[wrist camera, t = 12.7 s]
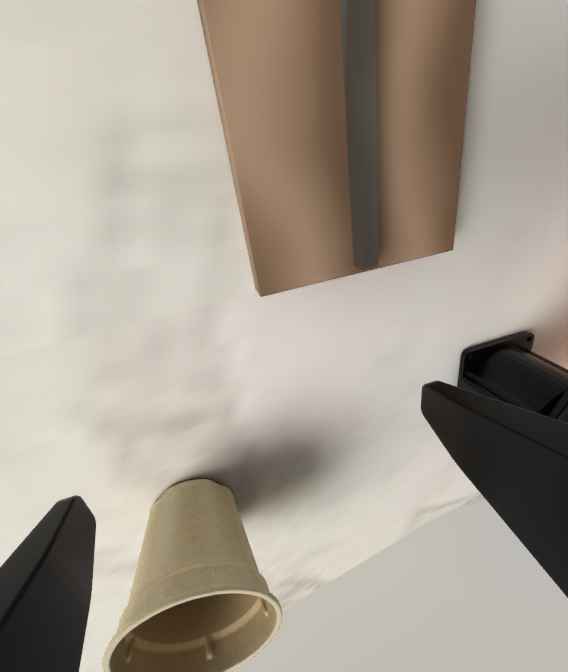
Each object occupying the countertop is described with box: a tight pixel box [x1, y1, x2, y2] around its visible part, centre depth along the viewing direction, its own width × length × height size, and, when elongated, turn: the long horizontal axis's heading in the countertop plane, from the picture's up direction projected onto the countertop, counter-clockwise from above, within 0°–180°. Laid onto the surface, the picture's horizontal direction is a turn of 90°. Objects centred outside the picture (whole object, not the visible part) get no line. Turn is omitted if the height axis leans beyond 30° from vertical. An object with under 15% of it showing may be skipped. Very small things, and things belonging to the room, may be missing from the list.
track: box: [197, 0, 476, 297], centre depth 13 cm, size 12×22×6 cm, turn 9°
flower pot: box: [102, 479, 282, 672], centre depth 22 cm, size 9×9×9 cm
